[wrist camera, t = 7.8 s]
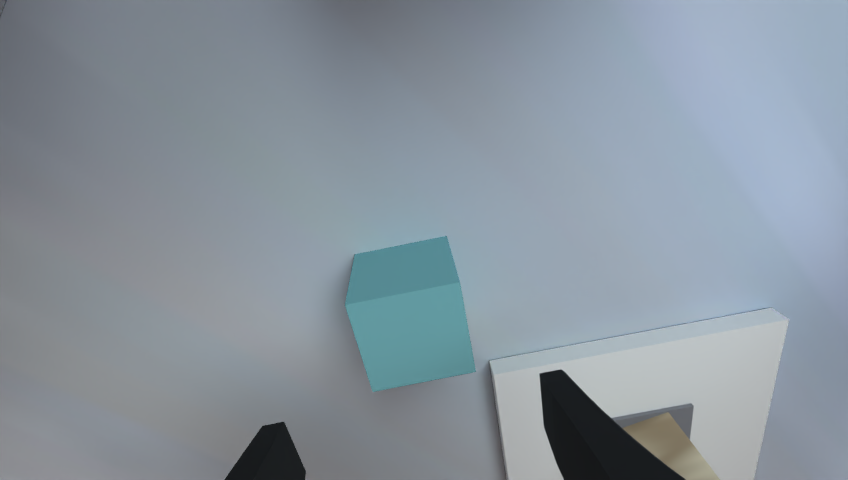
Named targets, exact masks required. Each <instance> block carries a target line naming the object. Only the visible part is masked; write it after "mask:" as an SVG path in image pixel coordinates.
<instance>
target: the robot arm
mask: <svg viewBox="0 0 848 480" xmlns="http://www.w3.org/2000/svg"><path fill="white" fill-rule="evenodd" d="M539 376H540V388H541V399H542V411H543V423H544V429H545V432H546V435H547V438H548V440H549V443H550V446H551V449H552V452H553V455H554V458H555V461H556V463H557V466H558V468H559V470H560V472H561V475H562V477H563V479H564V480H686V479H685V478H683V477H682V476H680V475H679V474H678V473H676V472H675V471H674V470H672V469H671V468H670V467H668V466H667V465H666V464H665V463H663V462H662V461H661V460H660V459H658V458H657V457H656V456H655V455H653V454H652V453H651V452H650V451H648V450H647V449H646V448H645V447H644V446H642V445H641V444H640V443H639V442H638V441H636V440H635V439H634V438H633V437H632V436H631V435H629V434H628V433H627V432H626V431H625V430H624V429H623V428H622V427H620V426H619V425H618V424H617V423H616V422H615V421H614V420H613V419H612V418H611V417H609V416H608V415H607V414H606V413H605V412H604V411H603V410H602V409H601V408H600V407H599V406H598V405H597V404H596V403H595V402H594V401H593V400H592V399H591V398H590V397H589V396H588V395H587V394H586V393H585V392H584V391H583V390H582V389H581V388H580V387H579V386H578V385H577V384H576V383H575V382H574V381H573V380H572V379H571V378H570V377H569V376H568V375H567V373H566V372H564V371H563V370H561V369H560V370H555V371H550V372H544V373H539ZM305 474H306V471H305V469H304V466H303V464H302V462H301V459H300V457H299V455H298V453H297V450H296V448H295V446H294V443H293V441H292V439H291V437H290V434H289V432H288V430H287V427H286V425H285V423H284V422H281V423H276V424H270V425H265V426H262V428H261V429H260V430H259V432H258V433H257V435H256V436H255V437H254V439H253V440H252V441H251V443H250V444H249V446H248V447H247V449H246V450H245V451H244V453H243V454H242V456H241V457H240V459H239V460H238V461H237V463H236V464H235V466H234V467H233V468H232V470H231V471H230V473H229V474H228V476H227V477H226V478H225V480H305Z"/></svg>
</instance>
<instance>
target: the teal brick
mask: <svg viewBox="0 0 848 480" xmlns="http://www.w3.org/2000/svg"><path fill="white" fill-rule="evenodd" d="M345 307H346V310H347V313H348V316H349V319H350V323H351V326H352V329H353V332H354V335H355V338H356V341H357V344H358V348H359V351H360V354H361V357H362V360H363V363H364V366H365V369H366V373H367V376H368V379H369V382H370V385H371V388H372V391H373V392H375V391H380V390H385V389H391V388H396V387H401V386H406V385H411V384H416V383H421V382H426V381H432V380H437V379H442V378H447V377H452V376H457V375H462V374H468V373H473V372H476V370H475V364H474V358H473V353H472V347H471V342H470V336H469V330H468V325H467V319H466V314H465V308H464V302H463V297H462V291H461V286H460V281H459V277H458V274H457V270H456V267H455V263H454V260H453V256H452V253H451V249H450V246H449V242H448V239H447V236H444V237H439V238H434V239H429V240H424V241H419V242H414V243H410V244H405V245H400V246H395V247H390V248H385V249H380V250H375V251H370V252H365V253H360V254H355V255H354V261H353V266H352V271H351V276H350V281H349V287H348V292H347V297H346V302H345Z"/></svg>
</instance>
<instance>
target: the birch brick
mask: <svg viewBox="0 0 848 480" xmlns="http://www.w3.org/2000/svg"><path fill="white" fill-rule="evenodd" d="M623 429H624V430H625V431H626V432H627V433H628V434H629V435H631V436H632V437H633V438H634V439H635V440H636V441H638V442H639V443H640V444H641V445H642V446H644V447H645V448H646V449H647V450H648V451H650V452H651V453H652V454H653V455H655V456H656V457H657V458H658V459H660V460H661V461H662V462H663V463H665V464H666V465H667V466H668V467H670V468H671V469H672V470H674V471H675V472H676V473H678V474H679V475H680V476H682V477H683V478H685V479H686V480H720V479H719V478H718V476H717V475H716V474H715V472H714V471H713V470H712V468H711V467H710V466H709V464H708V463H707V462H706V461H705V459H704V458H703V457H702V455H701V454H700V453H699V451H698V450H697V449H696V447H695V446H694V445H693V444H692V442H691V441H690V440H689V438H688V437H687V436H686V434H685V433H684V432H683V431H682V429H681V428H680V427H679V425H678V424H677V423H676V421H675V420H674V419H673V417H672V416H671V415H670V414H669V412H667V413H664V414H661V415H658V416H655V417H652V418H650V419H647V420H644V421H641V422H638V423H635V424H632V425H629V426H626V427H624V428H623Z"/></svg>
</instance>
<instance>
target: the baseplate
mask: <svg viewBox="0 0 848 480" xmlns="http://www.w3.org/2000/svg"><path fill="white" fill-rule="evenodd" d="M788 322H789V319H788V318H786V317H785V316H783V315H782V314H780V313H779V312H777V311H776V310H774V309H773V308H767V309H762V310H756V311H751V312H746V313H740V314H735V315H730V316H724V317H719V318H714V319H708V320H703V321H698V322H692V323H687V324H682V325H676V326H671V327H666V328H660V329H655V330H650V331H644V332H639V333H634V334H628V335H623V336H618V337H612V338H607V339H602V340H596V341H591V342H586V343H580V344H575V345H570V346H564V347H559V348H554V349H549V350H543V351H538V352H533V353H527V354H522V355H517V356H511V357H506V358H501V359H495V360H490V361H489V362H490V369H491V376H492V383H493V390H494V397H495V404H496V410H497V417H498V424H499V431H500V438H501V445H502V452H503V458H504V465H505V472H506V479H507V480H564V479H563V477H562V475H561V472H560V470H559V468H558V466H557V463H556V461H555V458H554V455H553V452H552V449H551V446H550V443H549V440H548V438H547V435H546V432H545V429H544V423H543V411H542V399H541V388H540V376H539V373H544V372H550V371H555V370H560V369H561V370H563V371H564V372H566V373H567V375H568V376H569V377H570V378H571V379H572V380H573V381H574V382H575V383H576V384H577V385H578V386H579V387H580V388H581V389H582V390H583V391H584V392H585V393H586V394H587V395H588V396H589V397H590V398H591V399H592V400H593V401H594V402H595V403H596V404H597V405H598V406H599V407H600V408H601V409H602V410H603V411H604V412H605V413H606V414H607V415H608V416H609V417H611V418H612V419H613V420H614V421H615V422H616V423H617V424H618V425H619V426H620V427H622V428H624V427H626V426H629V425H632V424H635V423H638V422H641V421H644V420H647V419H650V418H652V417H655V416H658V415H661V414H664V413H667V412H669V414H670V415H671V416H672V417H673V419H674V420H675V421H676V423H677V424H678V425H679V427H680V428H681V429H682V431H683V432H684V433H685V434H686V436H687V437H688V438H689V440H690V441H691V442H692V444H693V445H694V446H695V447H696V449H697V450H698V451H699V453H700V454H701V455H702V457H703V458H704V459H705V461H706V462H707V463H708V464H709V466H710V467H711V468H712V470H713V471H714V472H715V474H716V475H717V476H718V478H719V479H720V480H754V477H755V472H756V468H757V463H758V458H759V454H760V449H761V445H762V440H763V436H764V431H765V427H766V422H767V418H768V413H769V409H770V404H771V400H772V395H773V390H774V386H775V381H776V377H777V372H778V368H779V363H780V359H781V354H782V350H783V345H784V341H785V336H786V332H787V327H788Z"/></svg>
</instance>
